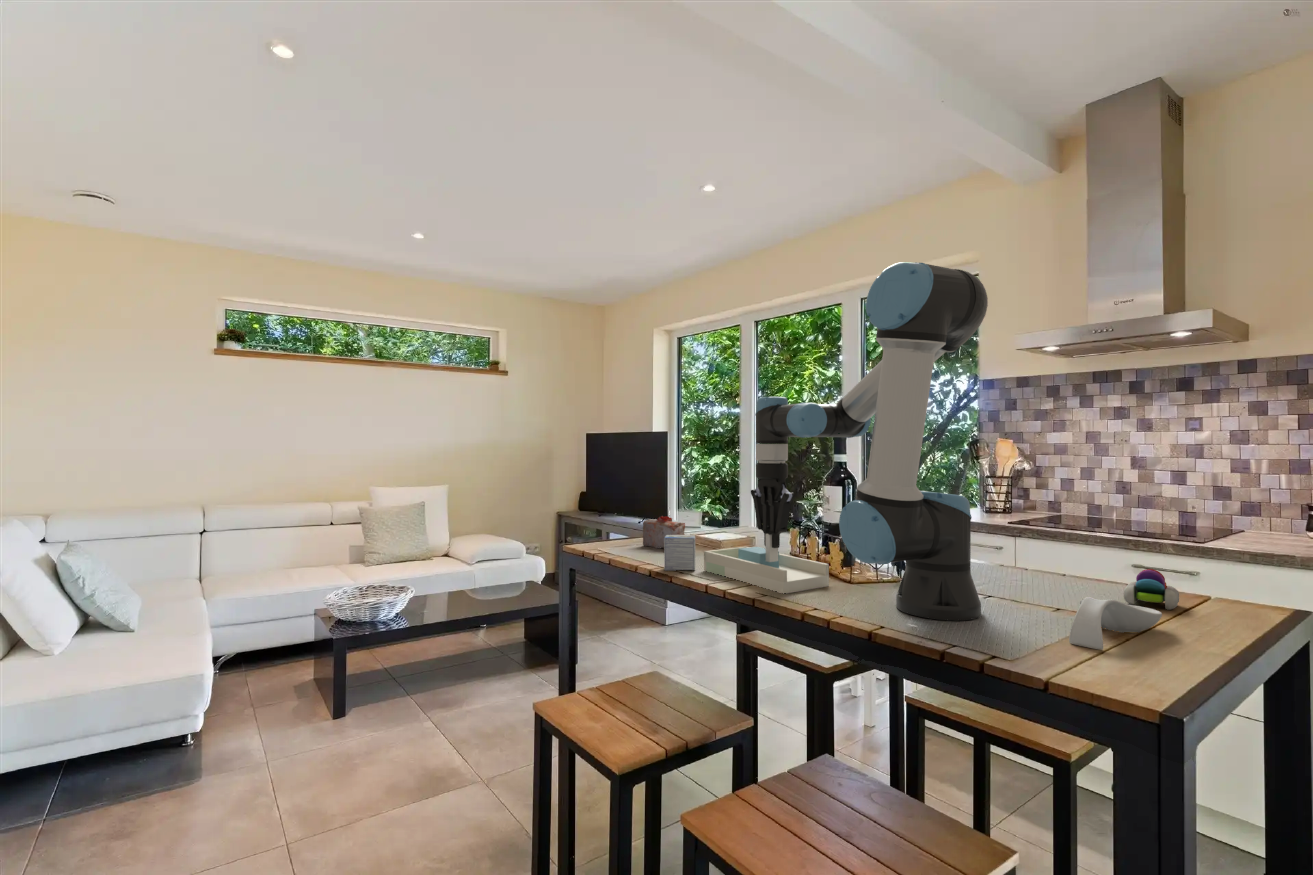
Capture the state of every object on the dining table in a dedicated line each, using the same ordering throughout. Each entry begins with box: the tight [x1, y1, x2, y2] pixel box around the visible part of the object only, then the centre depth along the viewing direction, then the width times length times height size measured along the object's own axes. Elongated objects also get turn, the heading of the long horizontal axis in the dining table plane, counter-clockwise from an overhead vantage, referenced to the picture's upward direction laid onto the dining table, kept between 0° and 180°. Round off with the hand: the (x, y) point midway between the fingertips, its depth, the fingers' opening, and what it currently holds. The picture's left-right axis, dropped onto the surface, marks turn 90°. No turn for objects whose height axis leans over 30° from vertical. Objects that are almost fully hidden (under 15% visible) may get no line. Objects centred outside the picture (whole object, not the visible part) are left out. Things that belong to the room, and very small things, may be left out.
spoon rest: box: [1068, 596, 1163, 651], centre depth 108 cm, size 24×12×7 cm, turn 130°
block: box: [738, 546, 780, 568], centre depth 154 cm, size 8×6×4 cm
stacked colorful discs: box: [1123, 568, 1180, 611], centre depth 127 cm, size 8×10×7 cm
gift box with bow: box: [642, 515, 686, 549], centre depth 198 cm, size 14×8×10 cm, turn 53°
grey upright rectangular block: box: [663, 534, 696, 572], centre depth 163 cm, size 8×4×9 cm, turn 84°
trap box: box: [703, 546, 830, 595], centre depth 152 cm, size 29×14×5 cm, turn 32°
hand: (771, 561), depth 150 cm, fingers closed
